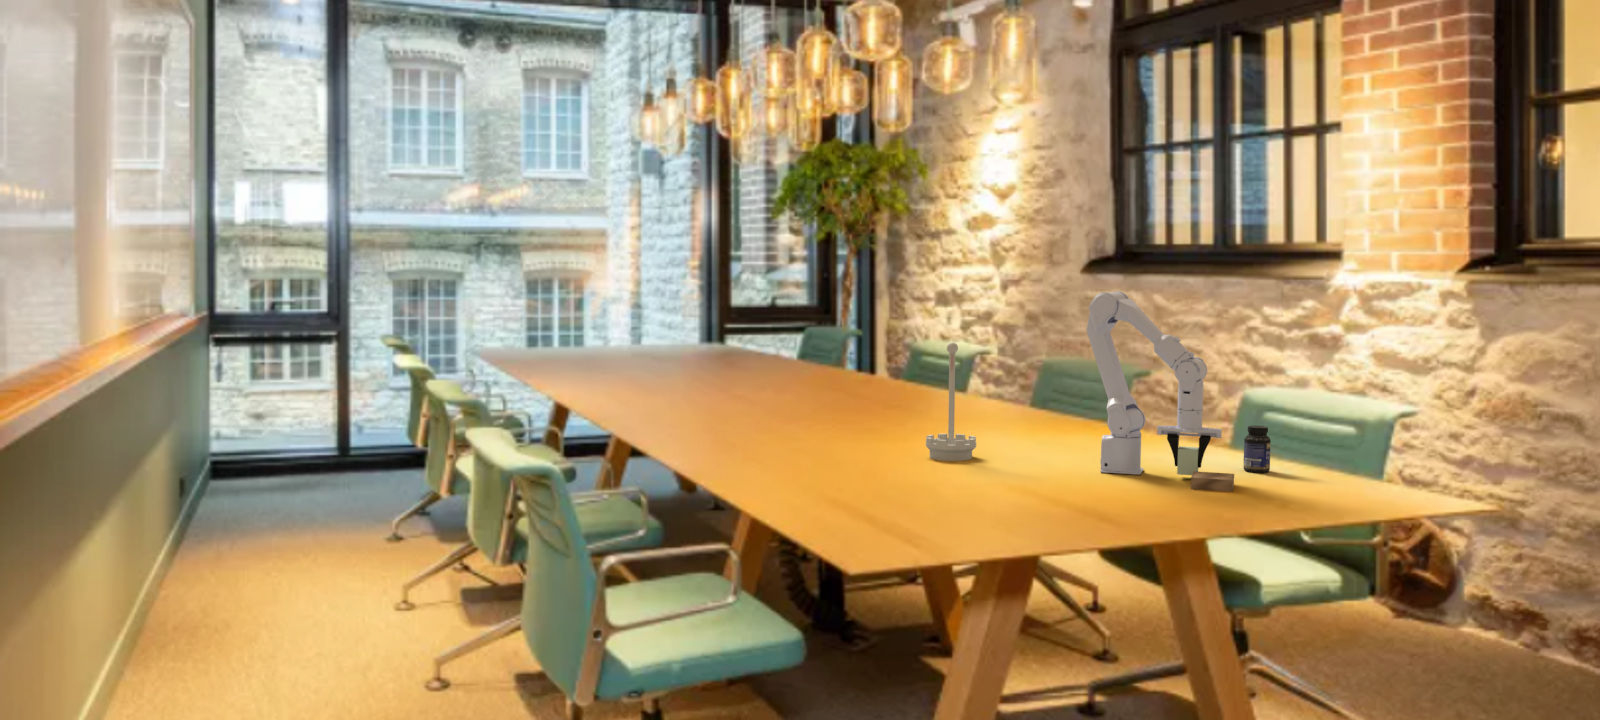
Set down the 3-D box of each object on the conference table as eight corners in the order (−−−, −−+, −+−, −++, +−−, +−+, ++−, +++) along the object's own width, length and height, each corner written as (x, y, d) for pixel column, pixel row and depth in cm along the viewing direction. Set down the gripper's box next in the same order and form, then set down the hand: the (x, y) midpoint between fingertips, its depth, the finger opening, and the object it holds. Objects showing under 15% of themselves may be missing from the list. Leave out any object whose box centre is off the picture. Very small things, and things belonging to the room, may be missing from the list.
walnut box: (1190, 490, 295) (1191, 477, 295) (1193, 484, 304) (1193, 471, 303) (1232, 493, 292) (1232, 480, 292) (1233, 486, 301) (1234, 473, 300)
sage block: (1177, 474, 307) (1178, 449, 306) (1178, 471, 311) (1179, 446, 311) (1197, 475, 305) (1197, 450, 305) (1198, 472, 310) (1199, 447, 309)
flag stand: (926, 452, 346) (928, 340, 343) (976, 454, 344) (977, 341, 341) (924, 461, 333) (925, 344, 330) (975, 462, 331) (977, 344, 328)
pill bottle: (1271, 473, 315) (1273, 428, 314) (1245, 472, 317) (1246, 427, 316) (1267, 469, 321) (1269, 425, 320) (1241, 468, 323) (1243, 424, 322)
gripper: (1156, 409, 306) (1154, 466, 307) (1221, 413, 301) (1219, 471, 302) (1159, 406, 312) (1157, 462, 314) (1222, 409, 307) (1220, 466, 308)
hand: (1187, 466), depth 308 cm, fingers closed on sage block, 4 cm apart
